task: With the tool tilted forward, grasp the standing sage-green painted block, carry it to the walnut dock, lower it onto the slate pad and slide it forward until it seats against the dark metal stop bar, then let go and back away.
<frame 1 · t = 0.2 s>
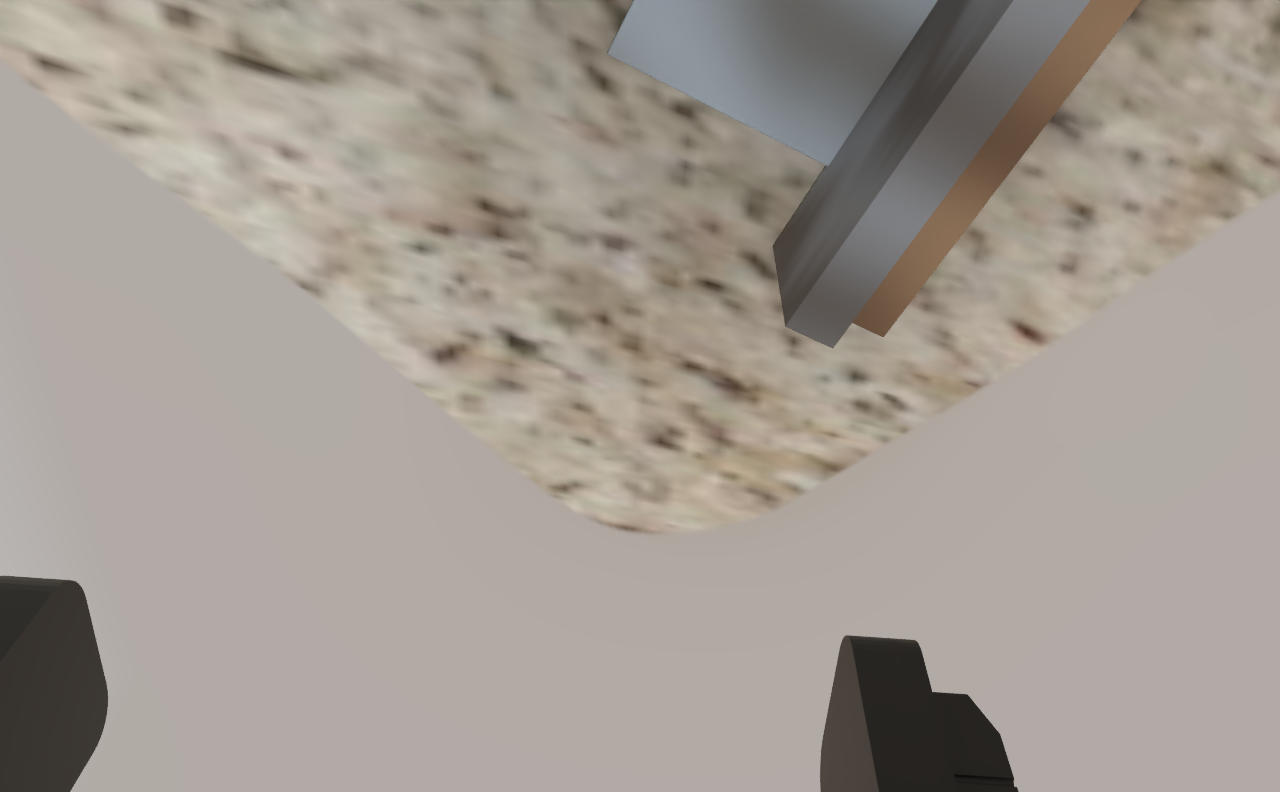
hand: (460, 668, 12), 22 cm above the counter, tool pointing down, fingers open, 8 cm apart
dock: (931, 52, 30), on the counter
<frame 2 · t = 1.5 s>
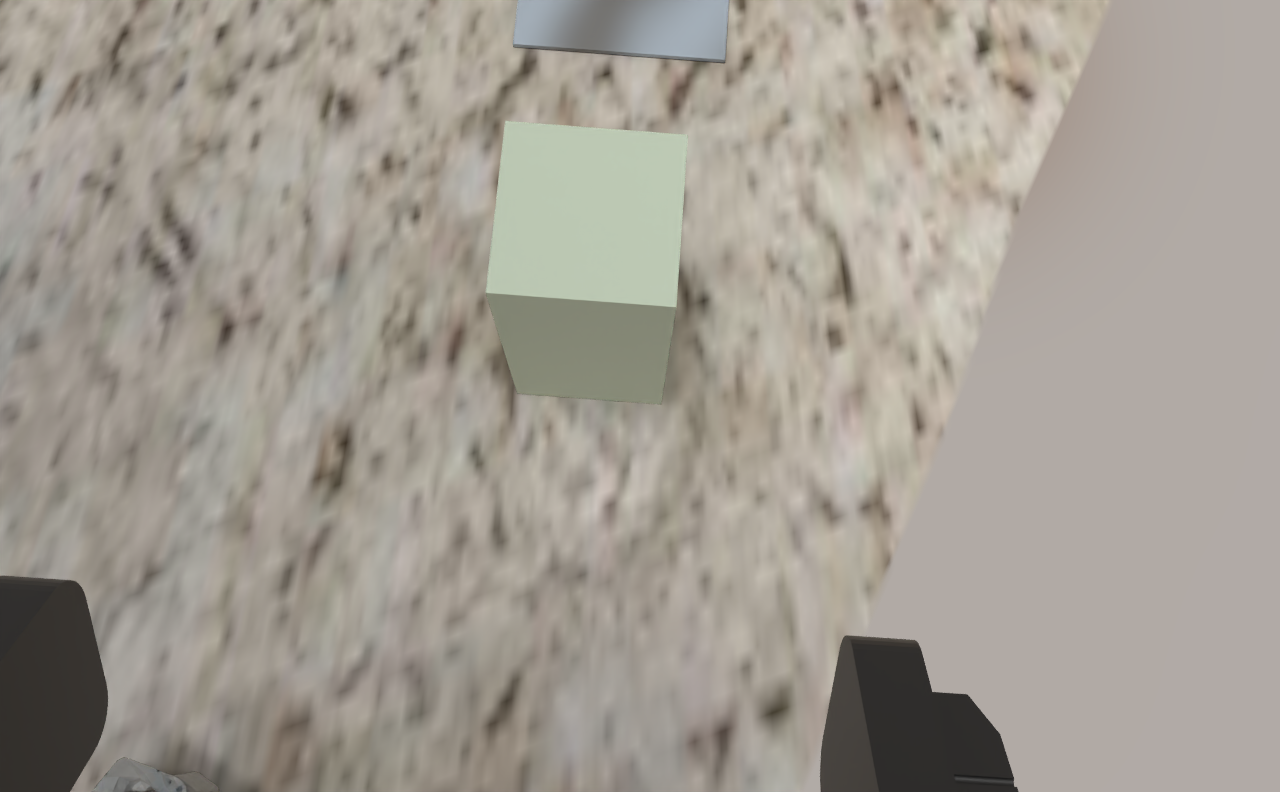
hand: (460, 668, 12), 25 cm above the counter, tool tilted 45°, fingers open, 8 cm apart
green block: (595, 330, 40), on the counter
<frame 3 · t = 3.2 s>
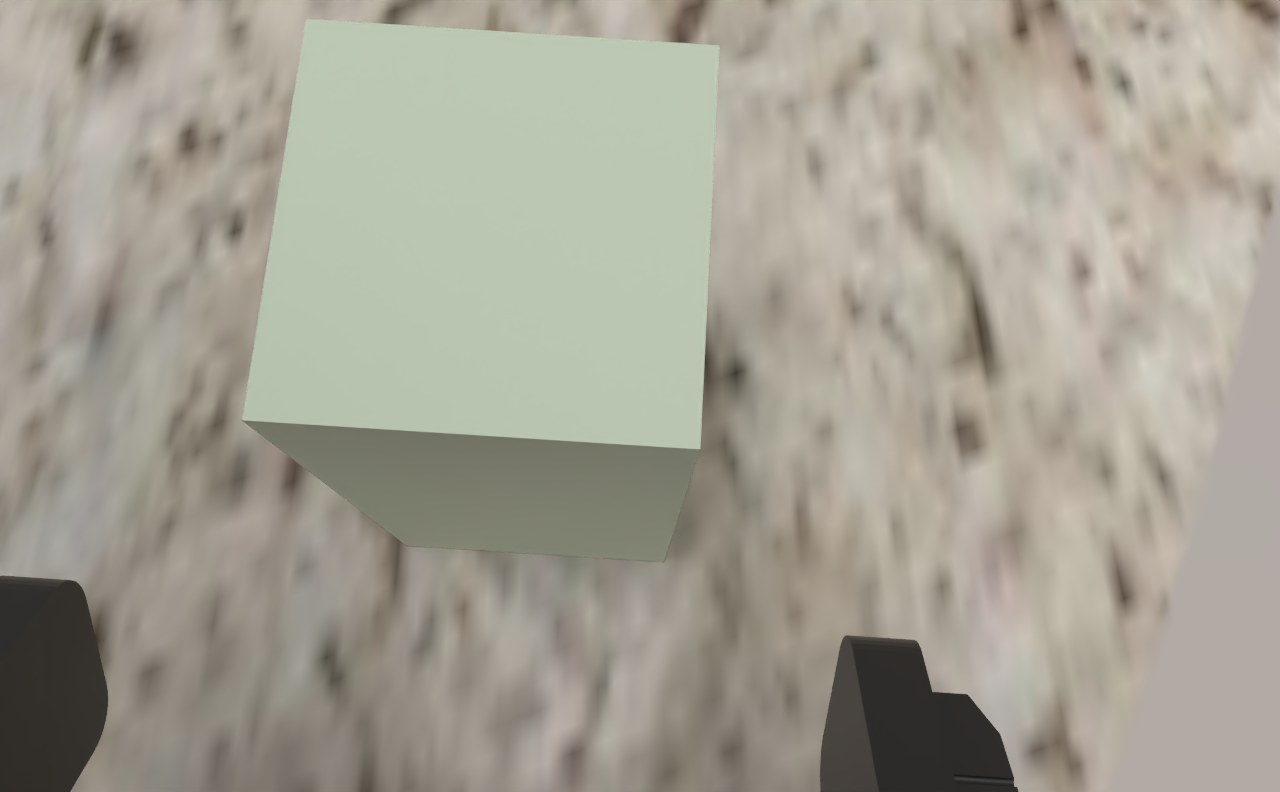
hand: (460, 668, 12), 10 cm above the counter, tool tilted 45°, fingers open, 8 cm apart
green block: (546, 429, 23), on the counter
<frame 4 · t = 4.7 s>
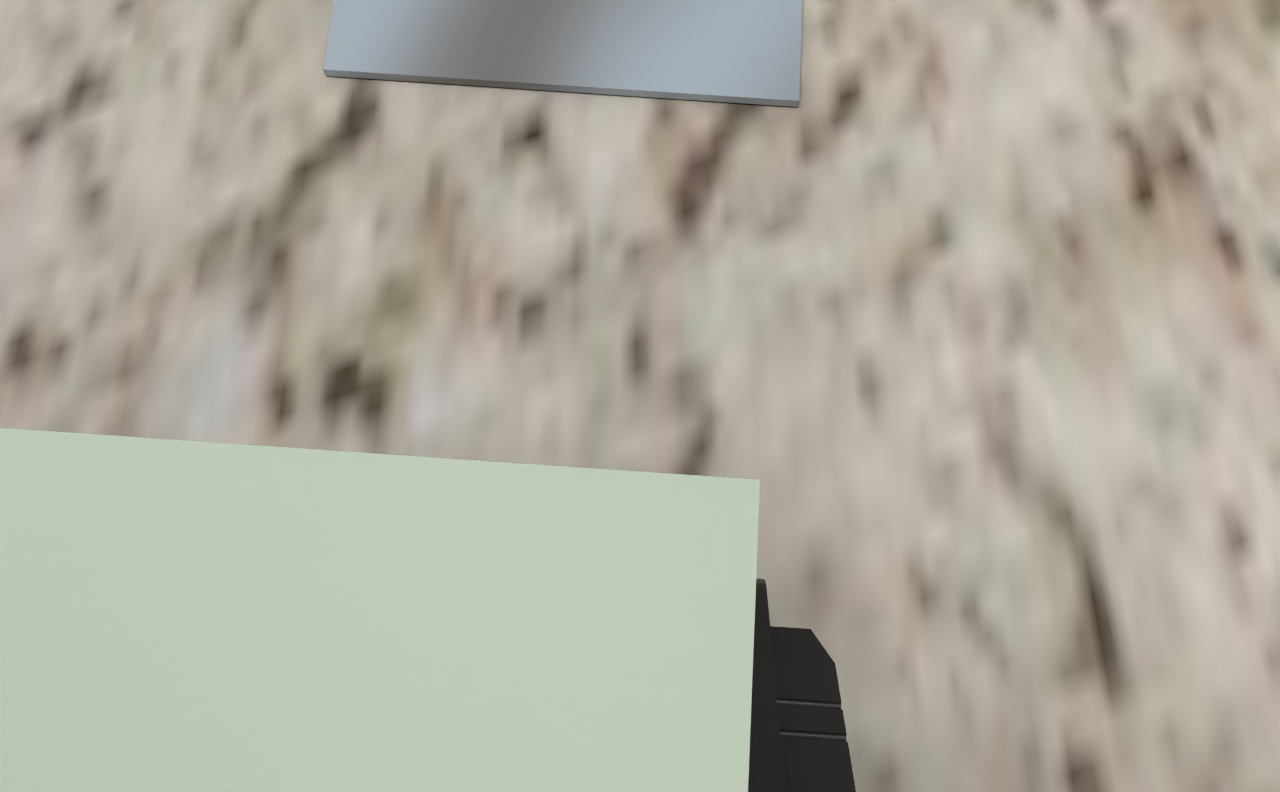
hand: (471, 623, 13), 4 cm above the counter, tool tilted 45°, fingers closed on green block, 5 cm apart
green block: (497, 774, 16), on the counter, touching gripper
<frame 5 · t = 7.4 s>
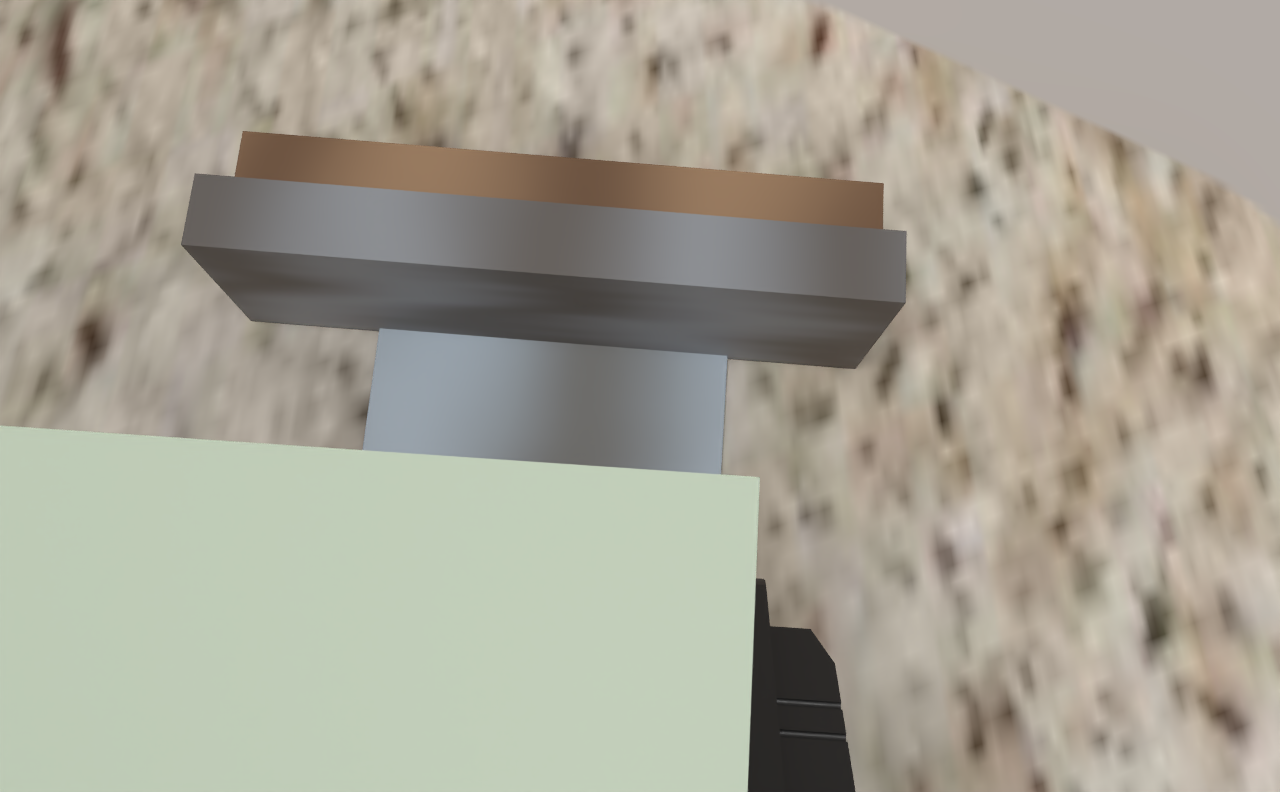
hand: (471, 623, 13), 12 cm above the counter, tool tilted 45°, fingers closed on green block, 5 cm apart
dock: (557, 314, 26), on the counter
green block: (498, 773, 16), point 8 cm above the counter, touching gripper
when the fingers open (5 cm above the counter, at t = 10.1 s): green block stays where it is, resting on dock.
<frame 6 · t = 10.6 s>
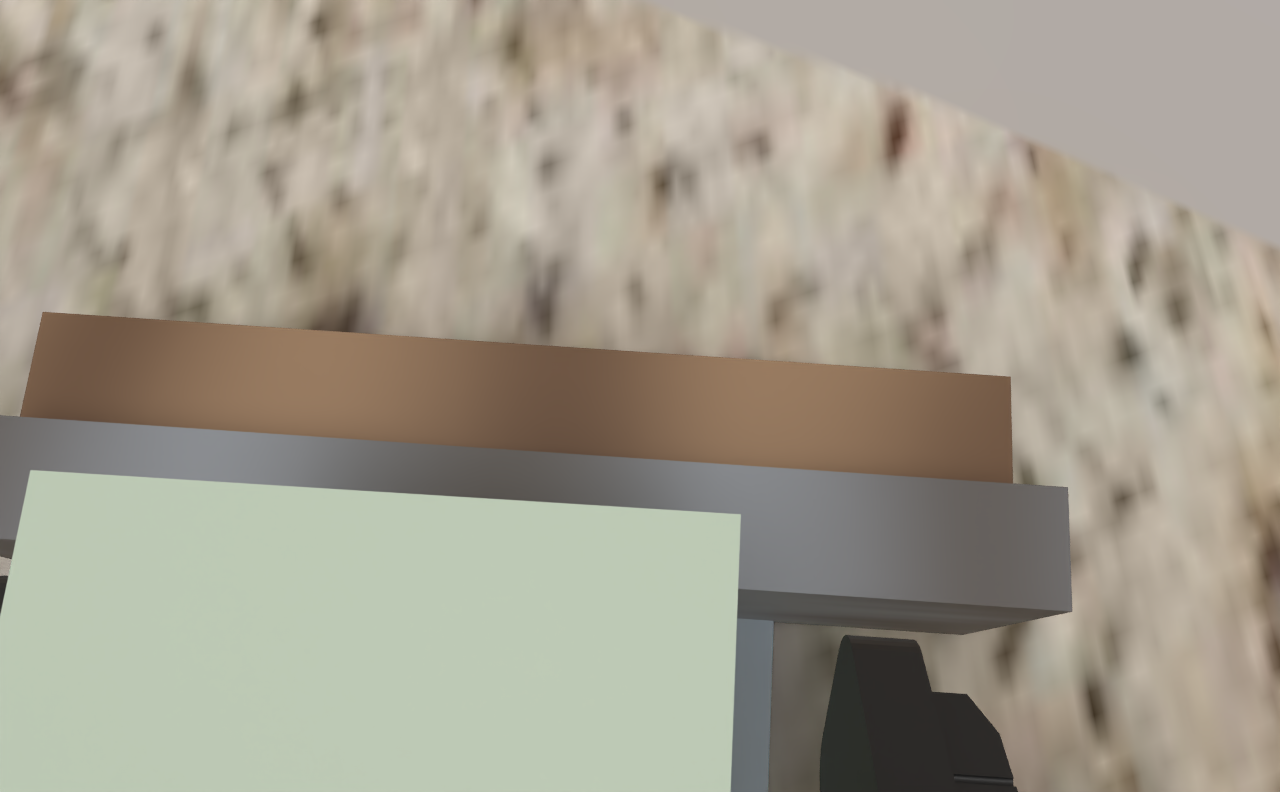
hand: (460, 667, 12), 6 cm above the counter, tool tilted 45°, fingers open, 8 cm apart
dock: (522, 556, 18), on the counter
green block: (501, 779, 17), resting on dock
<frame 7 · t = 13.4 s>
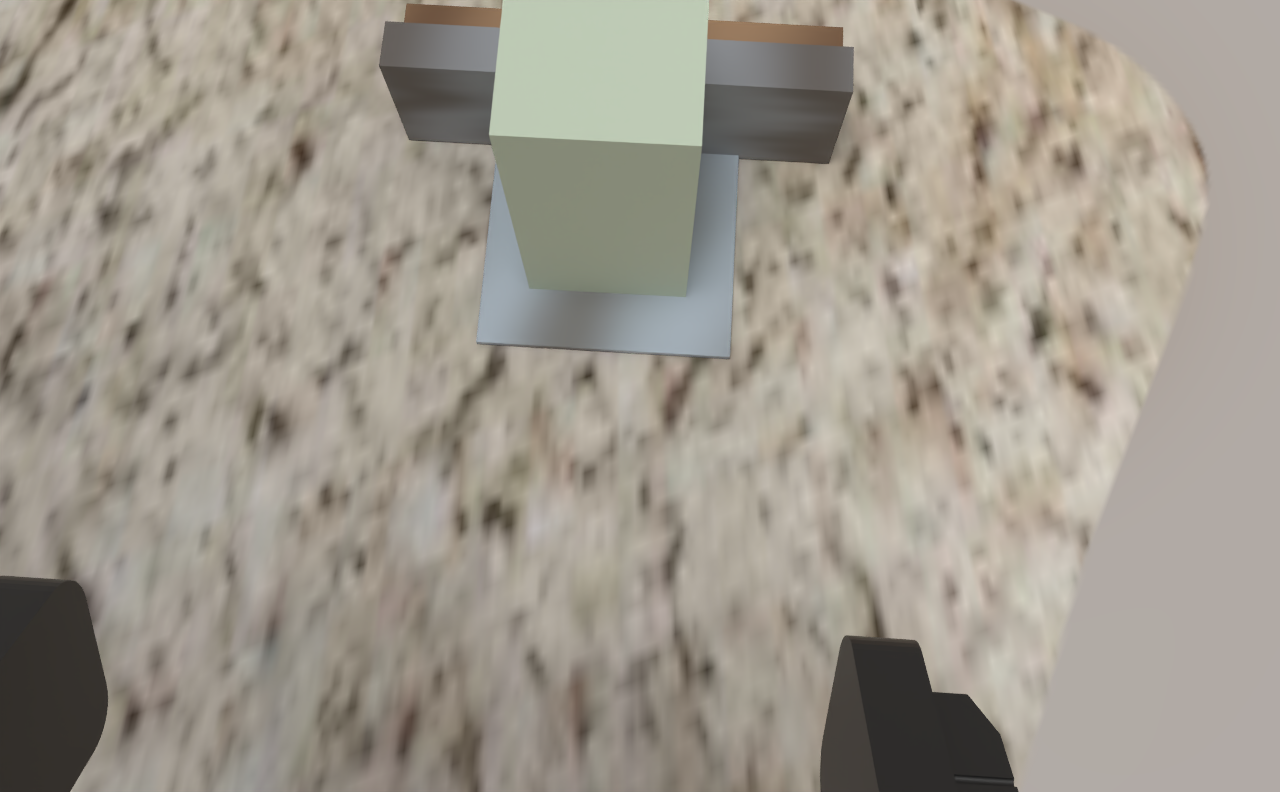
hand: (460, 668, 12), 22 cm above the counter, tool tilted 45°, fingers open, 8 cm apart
dock: (619, 131, 38), on the counter
green block: (612, 220, 37), resting on dock
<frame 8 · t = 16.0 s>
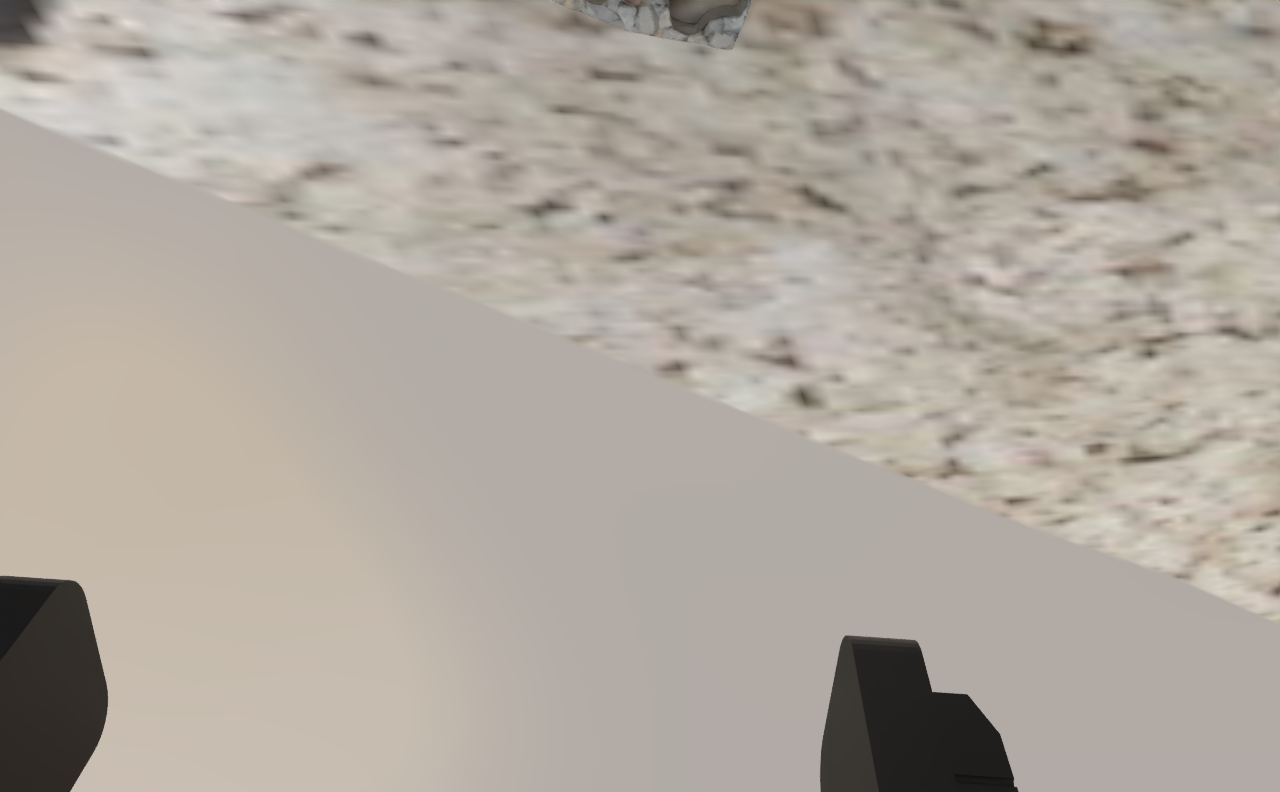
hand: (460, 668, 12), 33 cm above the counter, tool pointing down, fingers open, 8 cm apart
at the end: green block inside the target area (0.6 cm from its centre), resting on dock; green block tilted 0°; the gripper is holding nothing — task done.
